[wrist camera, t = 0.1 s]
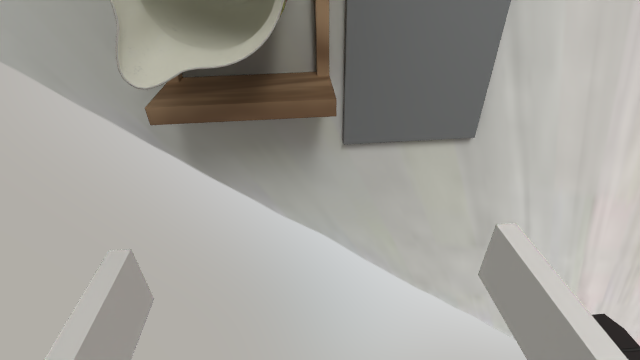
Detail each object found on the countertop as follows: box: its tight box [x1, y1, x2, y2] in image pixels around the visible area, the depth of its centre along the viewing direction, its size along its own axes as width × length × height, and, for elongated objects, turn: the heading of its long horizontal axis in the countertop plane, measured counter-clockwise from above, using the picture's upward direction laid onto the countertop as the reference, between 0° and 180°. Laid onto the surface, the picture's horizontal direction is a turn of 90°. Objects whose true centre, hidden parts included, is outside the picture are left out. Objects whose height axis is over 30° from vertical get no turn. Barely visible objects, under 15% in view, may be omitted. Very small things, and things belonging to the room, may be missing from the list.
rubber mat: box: [343, 0, 511, 144], centre depth 35 cm, size 24×16×1 cm, turn 1°
